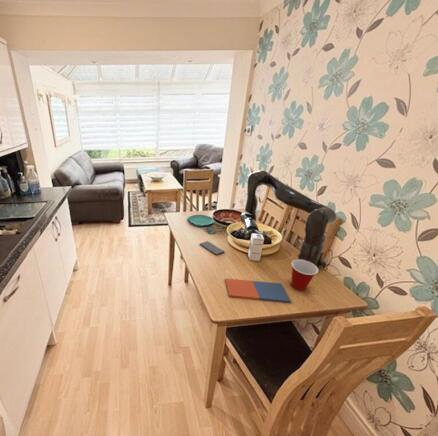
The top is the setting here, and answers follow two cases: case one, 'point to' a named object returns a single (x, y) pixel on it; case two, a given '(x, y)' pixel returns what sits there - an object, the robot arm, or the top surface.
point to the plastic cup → (302, 273)
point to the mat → (257, 290)
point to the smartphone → (212, 248)
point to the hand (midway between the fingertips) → (254, 239)
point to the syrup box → (255, 247)
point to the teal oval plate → (203, 222)
